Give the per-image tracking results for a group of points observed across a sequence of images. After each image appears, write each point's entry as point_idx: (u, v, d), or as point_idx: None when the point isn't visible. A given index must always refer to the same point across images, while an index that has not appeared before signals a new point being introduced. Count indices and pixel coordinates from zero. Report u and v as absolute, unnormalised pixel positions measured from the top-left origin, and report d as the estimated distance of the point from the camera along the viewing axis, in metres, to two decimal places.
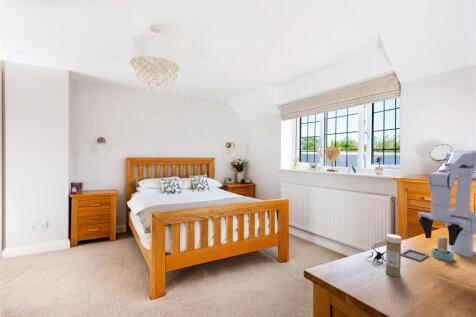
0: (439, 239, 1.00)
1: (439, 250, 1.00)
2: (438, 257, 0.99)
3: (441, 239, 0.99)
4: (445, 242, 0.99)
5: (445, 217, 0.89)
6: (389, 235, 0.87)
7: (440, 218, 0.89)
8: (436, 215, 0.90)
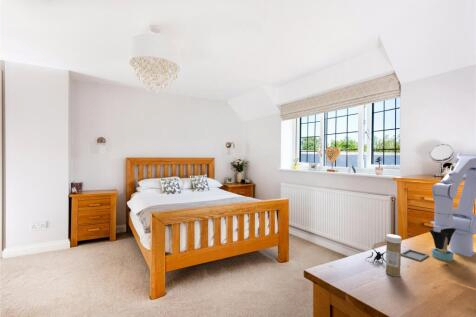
0: None
1: (439, 250, 1.00)
2: (438, 257, 0.99)
3: None
4: (445, 242, 0.99)
5: (436, 222, 1.00)
6: (389, 235, 0.87)
7: (433, 223, 1.01)
8: (434, 220, 1.02)
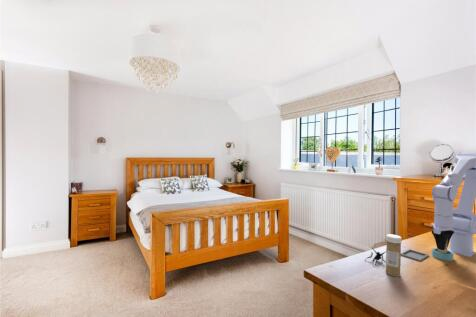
0: None
1: (439, 250, 1.00)
2: (438, 257, 0.99)
3: None
4: None
5: (436, 224, 1.00)
6: (389, 235, 0.87)
7: (433, 225, 1.01)
8: (434, 222, 1.02)
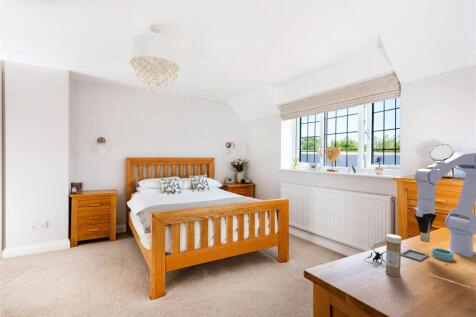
0: None
1: (422, 234, 1.00)
2: (438, 257, 0.99)
3: None
4: None
5: (419, 208, 1.00)
6: (389, 235, 0.87)
7: (416, 208, 1.02)
8: (417, 206, 1.03)
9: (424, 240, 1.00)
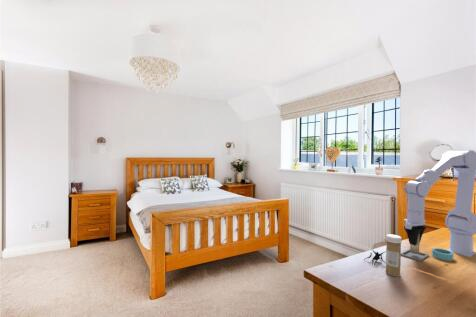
0: None
1: (412, 245, 1.01)
2: (438, 257, 0.99)
3: None
4: None
5: (408, 220, 1.01)
6: (389, 235, 0.87)
7: (406, 220, 1.03)
8: (407, 218, 1.03)
9: (414, 252, 1.00)
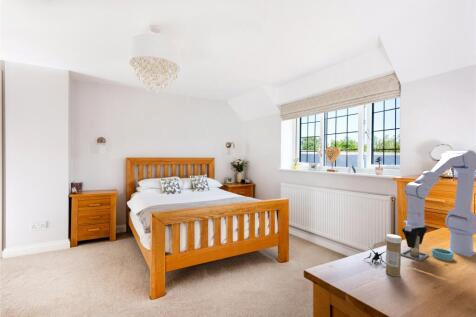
0: None
1: (411, 249, 1.01)
2: (438, 257, 0.99)
3: None
4: (417, 241, 1.00)
5: (408, 222, 1.01)
6: (389, 235, 0.87)
7: (406, 222, 1.03)
8: (407, 219, 1.03)
9: (413, 255, 1.00)
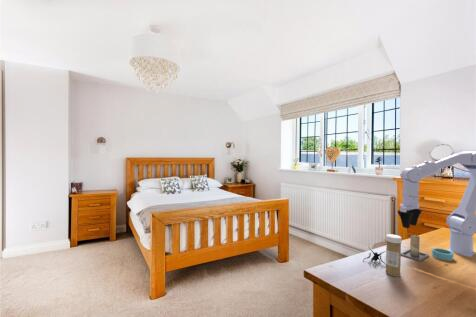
0: (412, 238, 1.01)
1: (411, 249, 1.01)
2: (438, 257, 0.99)
3: (414, 238, 1.00)
4: (417, 241, 1.00)
5: (404, 204, 1.09)
6: (389, 235, 0.87)
7: (402, 205, 1.10)
8: None
9: (413, 255, 1.00)
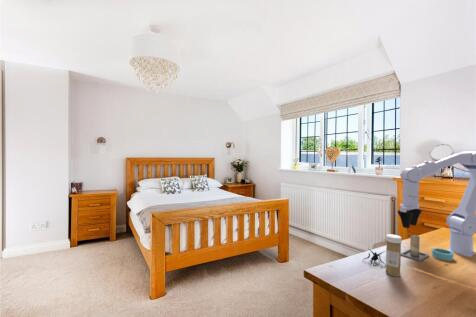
0: (412, 238, 1.01)
1: (411, 249, 1.01)
2: (438, 257, 0.99)
3: (414, 238, 1.00)
4: (417, 241, 1.00)
5: (404, 204, 1.09)
6: (389, 235, 0.87)
7: (402, 205, 1.10)
8: None
9: (413, 255, 1.00)
